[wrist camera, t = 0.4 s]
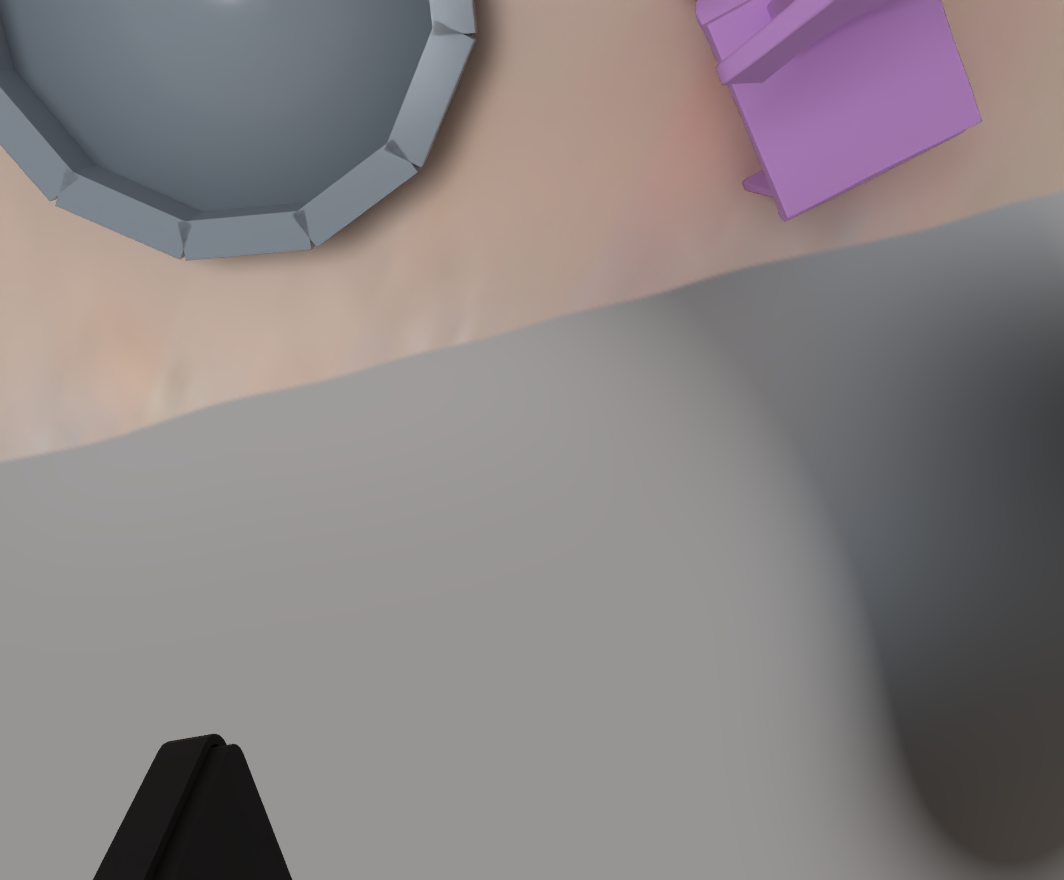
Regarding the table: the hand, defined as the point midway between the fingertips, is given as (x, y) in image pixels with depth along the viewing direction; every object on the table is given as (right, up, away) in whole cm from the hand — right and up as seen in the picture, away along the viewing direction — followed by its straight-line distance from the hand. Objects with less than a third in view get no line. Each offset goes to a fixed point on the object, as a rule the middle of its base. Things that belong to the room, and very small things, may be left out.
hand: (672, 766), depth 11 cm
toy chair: (+8, +18, +26) cm, 32 cm away
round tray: (-13, +20, +25) cm, 34 cm away
